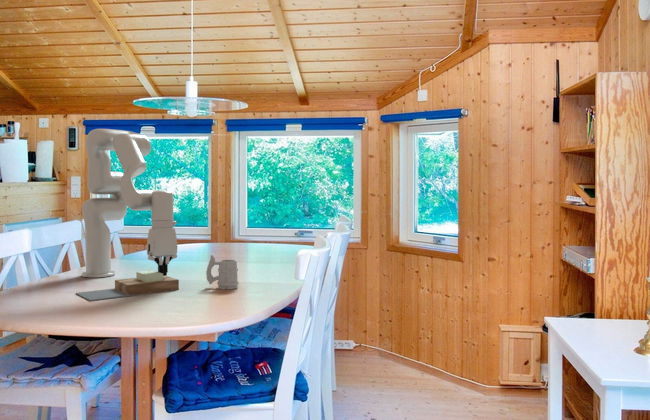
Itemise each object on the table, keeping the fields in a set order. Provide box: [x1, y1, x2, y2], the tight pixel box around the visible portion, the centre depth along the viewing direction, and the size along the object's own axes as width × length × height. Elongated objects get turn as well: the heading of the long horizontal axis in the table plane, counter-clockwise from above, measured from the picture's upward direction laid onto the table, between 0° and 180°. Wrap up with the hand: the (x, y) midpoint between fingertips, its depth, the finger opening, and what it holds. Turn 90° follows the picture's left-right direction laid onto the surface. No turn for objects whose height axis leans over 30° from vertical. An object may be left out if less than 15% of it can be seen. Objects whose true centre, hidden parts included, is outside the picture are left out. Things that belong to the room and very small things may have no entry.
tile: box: [135, 269, 163, 282], centre depth 200 cm, size 9×6×2 cm, turn 41°
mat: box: [75, 287, 134, 302], centre depth 190 cm, size 15×14×1 cm
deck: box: [114, 275, 180, 296], centre depth 200 cm, size 13×18×4 cm
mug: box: [205, 254, 240, 290], centre depth 205 cm, size 8×12×12 cm, turn 91°
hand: (162, 275), depth 204 cm, fingers closed
